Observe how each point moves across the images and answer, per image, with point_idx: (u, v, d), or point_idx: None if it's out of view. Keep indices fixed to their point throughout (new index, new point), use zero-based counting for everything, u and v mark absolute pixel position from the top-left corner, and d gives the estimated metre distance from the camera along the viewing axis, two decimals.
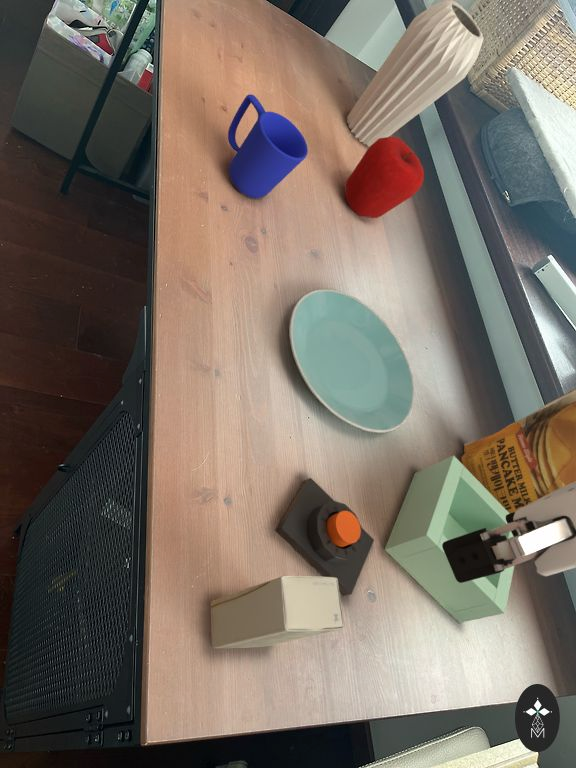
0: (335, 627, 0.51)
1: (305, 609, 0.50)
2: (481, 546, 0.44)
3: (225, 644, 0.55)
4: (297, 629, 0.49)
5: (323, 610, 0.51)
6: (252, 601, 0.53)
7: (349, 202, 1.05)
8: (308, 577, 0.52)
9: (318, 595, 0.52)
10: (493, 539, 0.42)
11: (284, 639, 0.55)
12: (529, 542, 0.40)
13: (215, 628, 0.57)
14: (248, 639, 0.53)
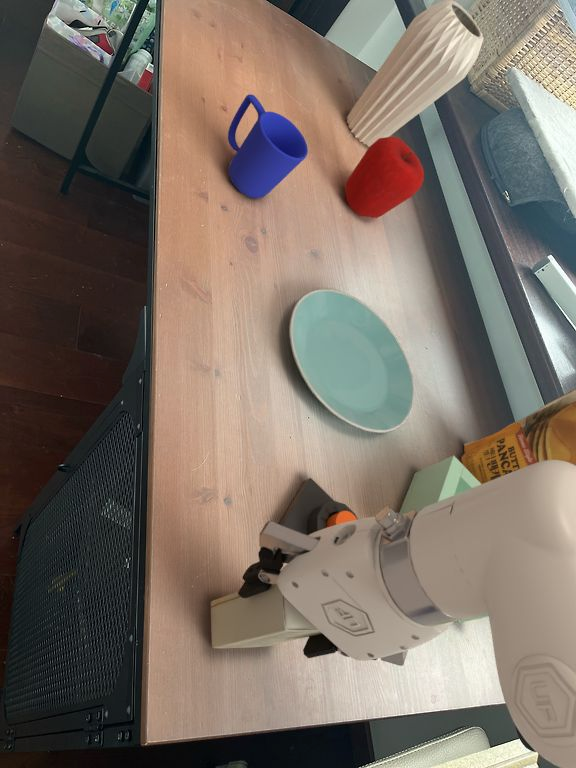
0: None
1: None
2: None
3: (225, 644, 0.55)
4: (297, 629, 0.49)
5: None
6: (252, 601, 0.53)
7: (349, 202, 1.05)
8: None
9: None
10: None
11: (284, 639, 0.55)
12: (275, 529, 0.48)
13: (215, 628, 0.57)
14: (247, 639, 0.53)
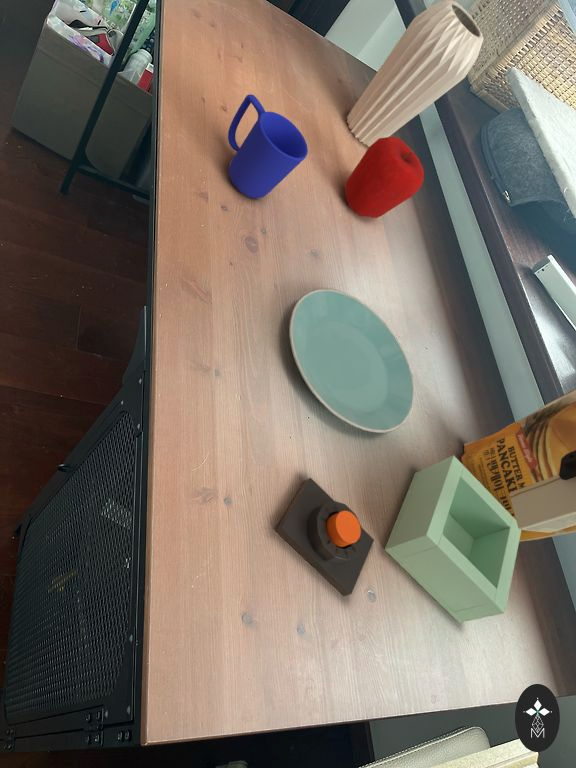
0: None
1: None
2: None
3: (537, 522, 0.66)
4: None
5: None
6: (570, 483, 0.64)
7: (349, 202, 1.05)
8: None
9: None
10: None
11: None
12: None
13: (521, 512, 0.68)
14: (568, 513, 0.63)
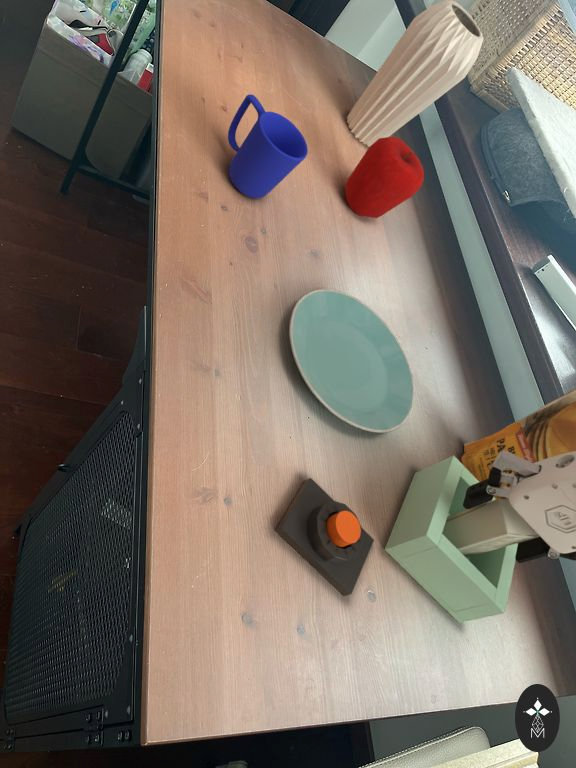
0: (534, 535, 0.73)
1: (515, 521, 0.72)
2: (487, 480, 0.72)
3: None
4: (513, 534, 0.71)
5: (525, 523, 0.73)
6: (470, 519, 0.74)
7: (349, 202, 1.05)
8: None
9: None
10: None
11: (488, 548, 0.76)
12: (510, 456, 0.68)
13: None
14: (468, 545, 0.74)
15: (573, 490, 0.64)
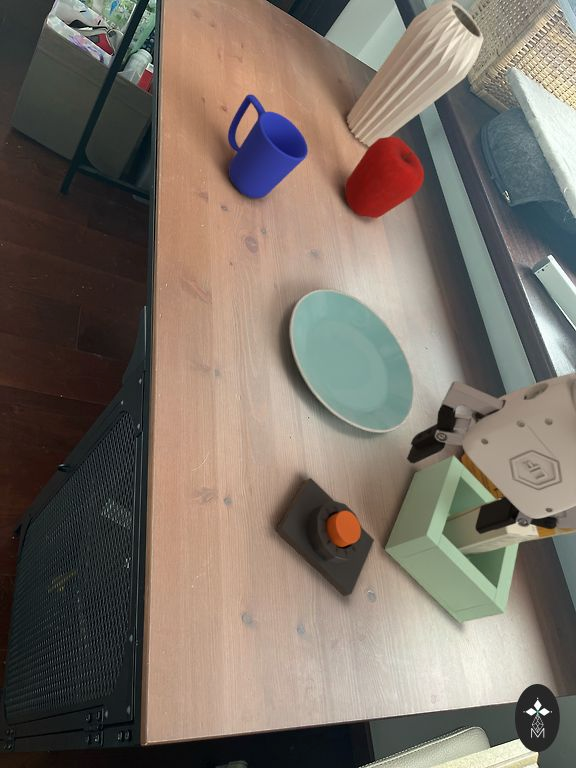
0: (534, 535, 0.73)
1: None
2: None
3: None
4: (513, 534, 0.71)
5: None
6: (470, 519, 0.74)
7: (349, 202, 1.05)
8: None
9: None
10: None
11: (488, 548, 0.76)
12: (464, 388, 0.51)
13: None
14: (468, 545, 0.74)
15: (545, 428, 0.47)
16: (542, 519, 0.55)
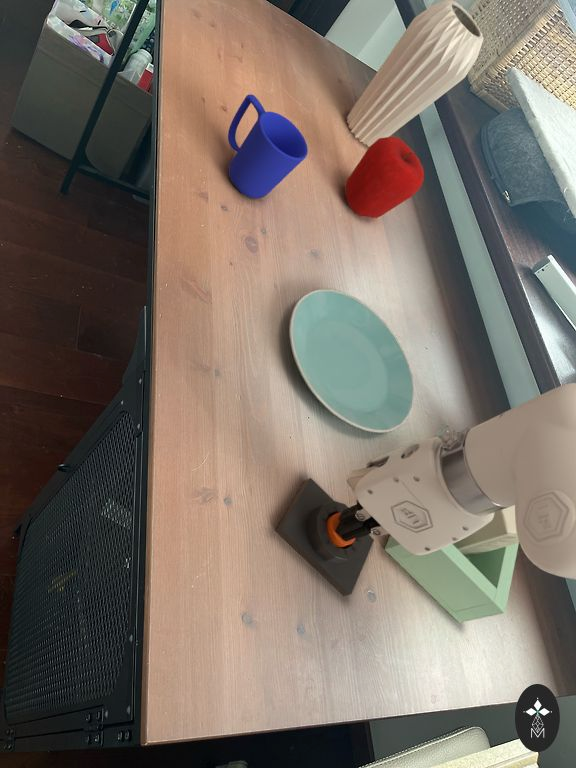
0: None
1: None
2: None
3: None
4: (513, 534, 0.71)
5: None
6: None
7: (349, 202, 1.05)
8: None
9: None
10: None
11: (488, 548, 0.76)
12: (355, 473, 0.62)
13: None
14: (468, 545, 0.74)
15: (415, 484, 0.56)
16: None
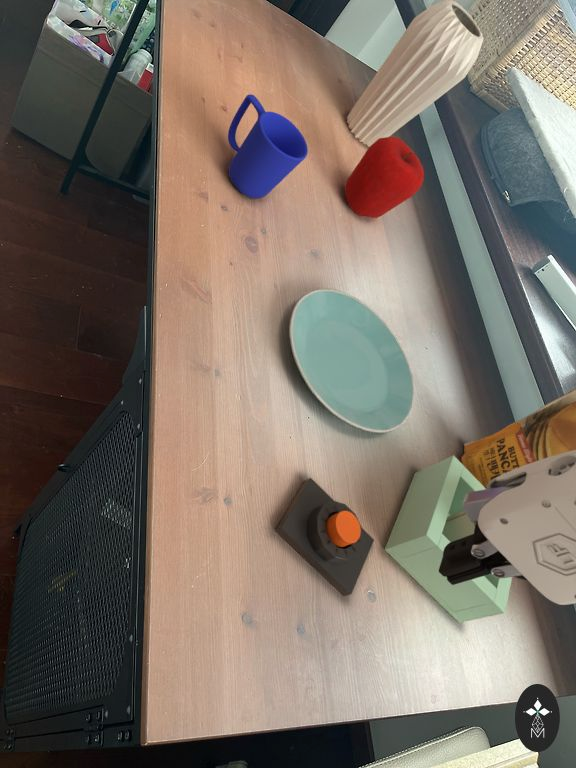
0: None
1: None
2: (473, 536, 0.50)
3: None
4: None
5: None
6: None
7: (349, 202, 1.05)
8: None
9: None
10: None
11: None
12: (474, 496, 0.47)
13: None
14: None
15: (575, 510, 0.41)
16: None
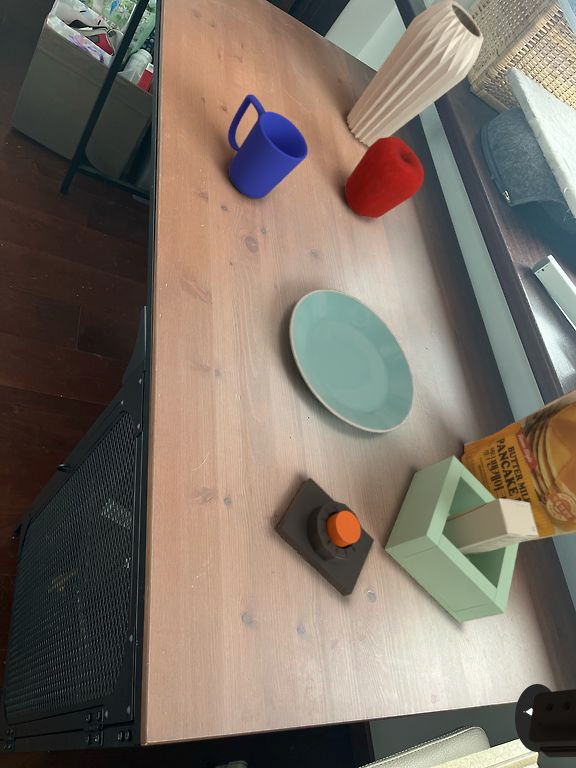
0: (534, 535, 0.73)
1: (515, 521, 0.72)
2: None
3: None
4: (513, 534, 0.71)
5: (525, 523, 0.73)
6: (470, 519, 0.74)
7: (349, 202, 1.05)
8: (513, 500, 0.73)
9: (521, 513, 0.73)
10: None
11: (488, 548, 0.76)
12: None
13: None
14: (468, 545, 0.74)
15: None
16: None
